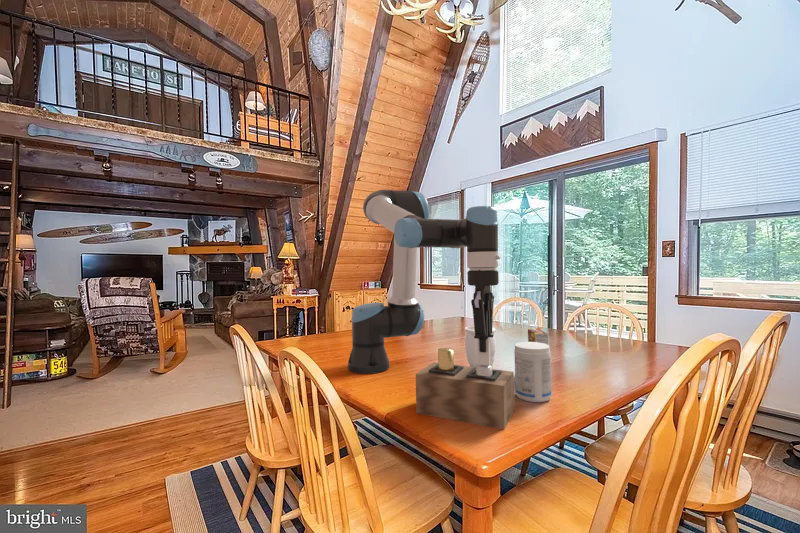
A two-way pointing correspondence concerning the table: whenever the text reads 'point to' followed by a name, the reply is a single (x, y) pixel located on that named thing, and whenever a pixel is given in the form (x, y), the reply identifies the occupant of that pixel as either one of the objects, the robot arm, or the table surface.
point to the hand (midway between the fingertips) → (484, 364)
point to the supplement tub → (533, 371)
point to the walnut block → (466, 395)
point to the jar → (472, 346)
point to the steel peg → (484, 370)
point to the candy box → (537, 336)
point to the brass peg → (446, 359)
